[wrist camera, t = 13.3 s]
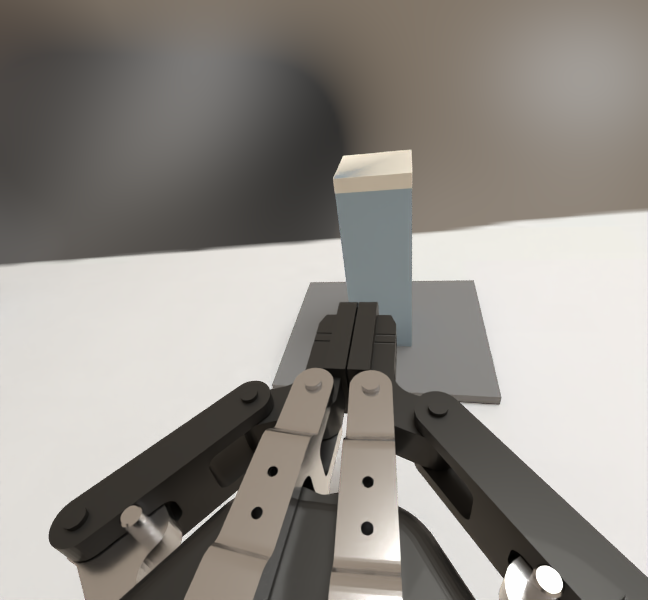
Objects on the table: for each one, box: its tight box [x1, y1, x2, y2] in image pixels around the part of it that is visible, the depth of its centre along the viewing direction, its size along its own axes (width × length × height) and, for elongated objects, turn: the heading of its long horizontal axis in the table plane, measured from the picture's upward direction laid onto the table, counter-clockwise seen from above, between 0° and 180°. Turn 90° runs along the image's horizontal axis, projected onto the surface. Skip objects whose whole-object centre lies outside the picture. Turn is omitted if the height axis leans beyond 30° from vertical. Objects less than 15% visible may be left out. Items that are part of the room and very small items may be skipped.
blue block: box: [333, 150, 412, 346], centre depth 24 cm, size 4×4×12 cm
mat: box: [272, 280, 501, 404], centre depth 28 cm, size 14×12×1 cm
